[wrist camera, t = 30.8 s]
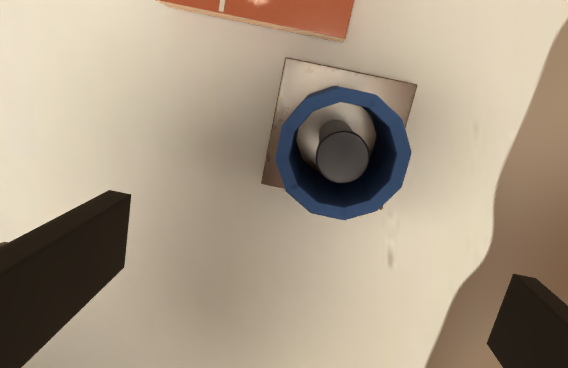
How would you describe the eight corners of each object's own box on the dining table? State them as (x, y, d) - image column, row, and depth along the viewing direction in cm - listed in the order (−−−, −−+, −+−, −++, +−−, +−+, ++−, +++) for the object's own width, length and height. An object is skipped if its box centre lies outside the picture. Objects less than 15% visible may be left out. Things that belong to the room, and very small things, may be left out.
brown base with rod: (264, 177, 34) (240, 220, 23) (287, 58, 31) (272, 47, 21) (378, 202, 34) (405, 257, 23) (411, 84, 31) (459, 85, 20)
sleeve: (278, 174, 32) (266, 203, 24) (298, 77, 30) (291, 76, 22) (371, 193, 31) (389, 230, 24) (397, 98, 29) (425, 104, 22)
